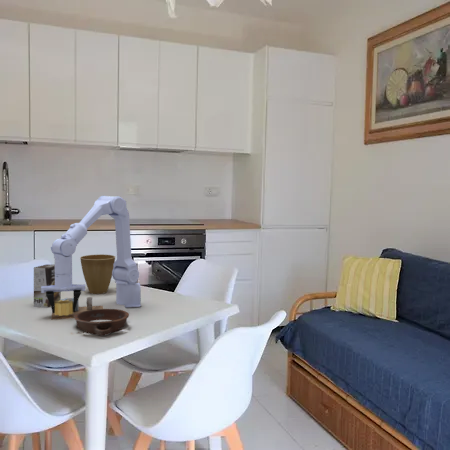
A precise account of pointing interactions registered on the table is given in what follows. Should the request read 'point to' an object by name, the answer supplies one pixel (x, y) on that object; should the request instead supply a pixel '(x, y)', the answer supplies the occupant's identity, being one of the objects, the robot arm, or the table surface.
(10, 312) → the table surface
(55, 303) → the ochre gear
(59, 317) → the gear board
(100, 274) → the plant pot
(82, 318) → the dish
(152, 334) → the table surface
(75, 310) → the slate gear
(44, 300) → the coffee box
